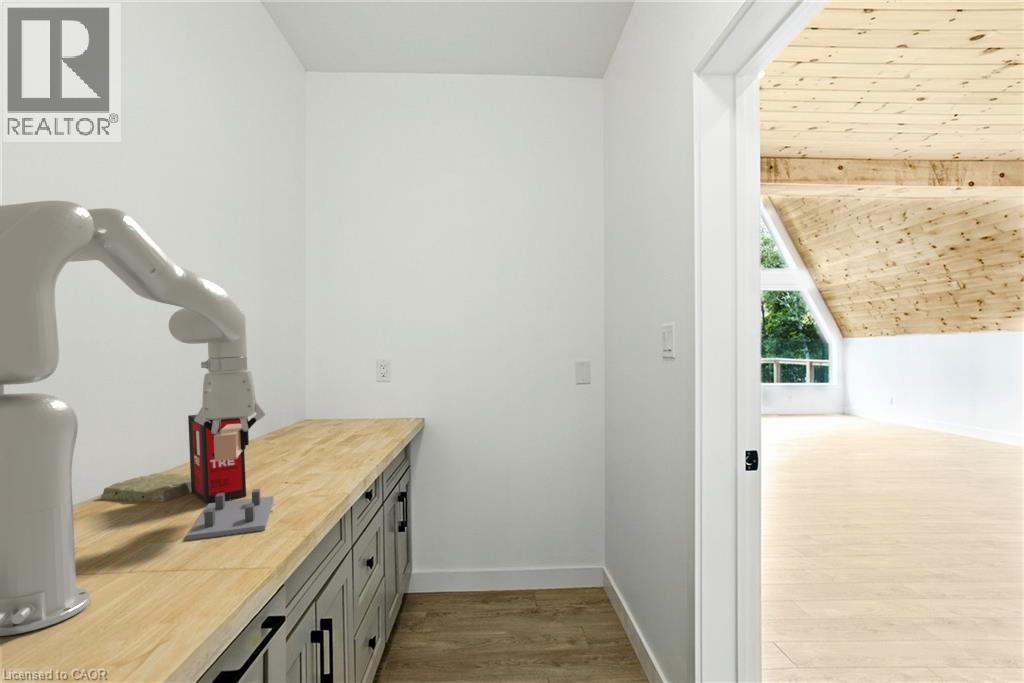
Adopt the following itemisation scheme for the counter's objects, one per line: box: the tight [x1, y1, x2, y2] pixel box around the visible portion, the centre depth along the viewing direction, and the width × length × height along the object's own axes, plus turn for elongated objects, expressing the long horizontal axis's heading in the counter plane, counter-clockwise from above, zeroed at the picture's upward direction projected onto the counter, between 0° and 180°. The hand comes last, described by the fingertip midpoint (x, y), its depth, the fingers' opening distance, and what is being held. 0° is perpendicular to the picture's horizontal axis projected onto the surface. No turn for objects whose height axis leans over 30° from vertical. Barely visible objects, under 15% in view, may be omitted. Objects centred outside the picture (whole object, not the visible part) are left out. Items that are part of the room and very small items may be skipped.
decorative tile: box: [100, 472, 192, 503], centre depth 153 cm, size 19×20×4 cm
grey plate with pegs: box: [186, 488, 274, 541], centre depth 126 cm, size 24×14×4 cm, turn 18°
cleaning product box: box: [187, 414, 247, 505], centre depth 148 cm, size 16×9×20 cm, turn 40°
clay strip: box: [214, 424, 242, 461], centre depth 126 cm, size 18×4×5 cm, turn 18°
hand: (231, 449), depth 126 cm, fingers closed on clay strip, 4 cm apart
